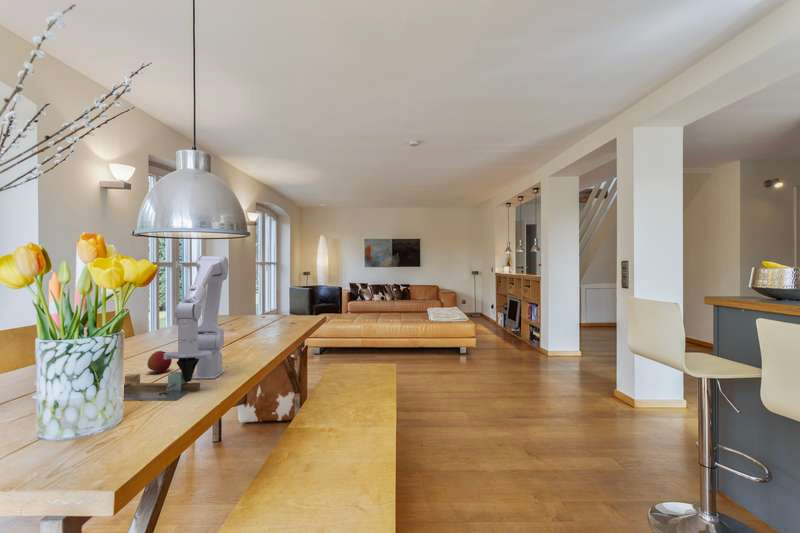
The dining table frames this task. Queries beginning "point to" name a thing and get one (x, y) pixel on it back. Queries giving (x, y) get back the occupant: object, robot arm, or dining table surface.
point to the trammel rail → (154, 384)
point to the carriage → (175, 381)
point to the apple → (158, 362)
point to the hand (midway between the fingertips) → (188, 381)
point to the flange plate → (154, 395)
